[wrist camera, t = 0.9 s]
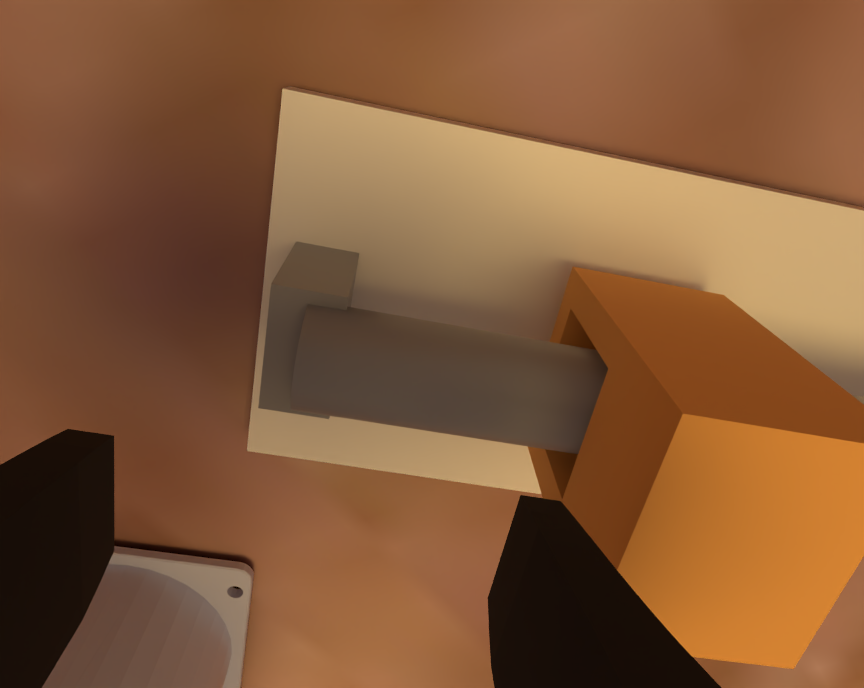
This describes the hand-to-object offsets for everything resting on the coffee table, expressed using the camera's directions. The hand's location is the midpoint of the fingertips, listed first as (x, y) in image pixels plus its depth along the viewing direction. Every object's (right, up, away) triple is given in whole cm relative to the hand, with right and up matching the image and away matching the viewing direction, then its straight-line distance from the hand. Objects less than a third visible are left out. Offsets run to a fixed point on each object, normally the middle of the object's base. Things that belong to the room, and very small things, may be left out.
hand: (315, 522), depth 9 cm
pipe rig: (+10, +2, +10) cm, 14 cm away
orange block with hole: (+7, +2, +8) cm, 10 cm away
